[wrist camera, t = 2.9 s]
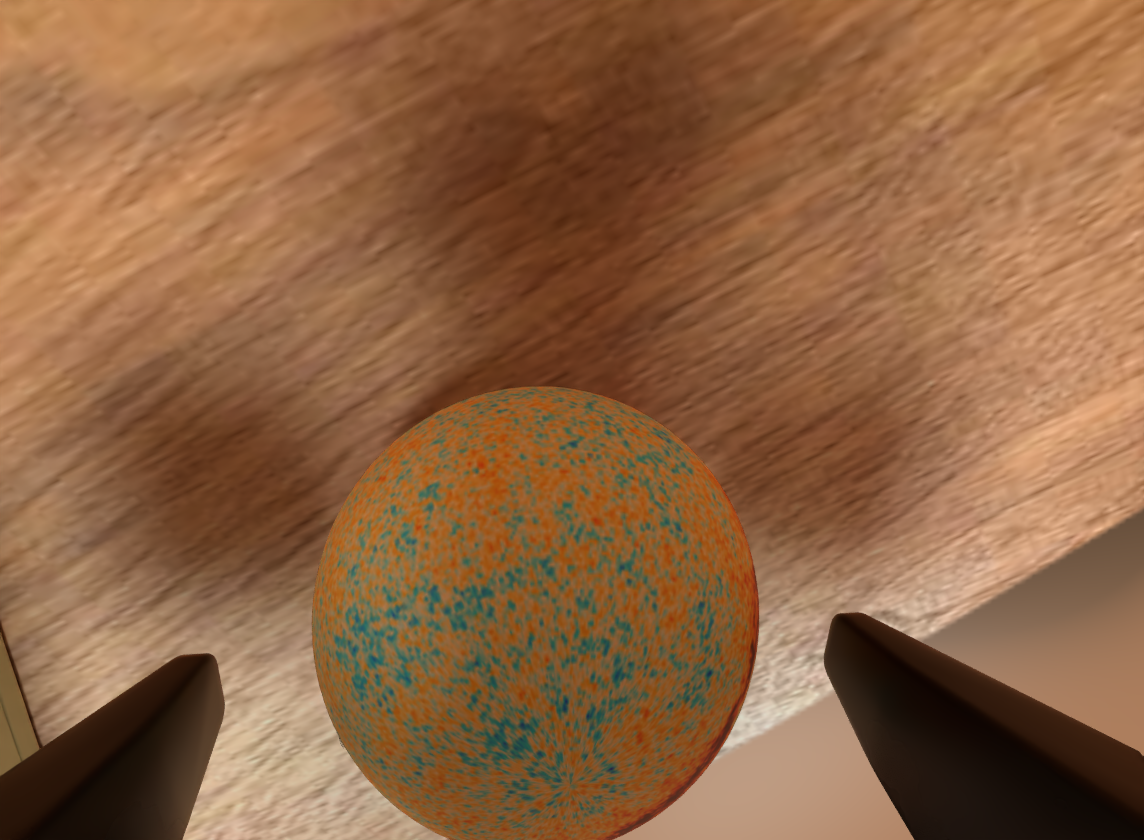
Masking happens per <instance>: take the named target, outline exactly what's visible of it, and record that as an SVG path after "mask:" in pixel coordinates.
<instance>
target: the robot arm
mask: <svg viewBox="0 0 1144 840" xmlns="http://www.w3.org/2000/svg"><path fill="white" fill-rule="evenodd" d="M824 666H825V669H826V672H827V675H828V677H829V679H830V681H831V683H832V685H833V687H834V690H835V692H836V694H837V696H838V698H839V700H840V702H841V704H842V706H843V708H844V710H845V712H846V714H847V717H848V719H849V721H850V723H851V725H852V727H853V729H854V731H855V733H856V736H857V737H858V740H859V742H860V744H861V746H862V748H863V750H864V752H865V754H866V756H867V758H868V760H869V762H870V764H871V766H872V768H873V769H874V772H875V773H876V775H877V777H878V779H879V780H880V782H881V784H882V786H883V787H884V789H885V791H886V792H887V794H888V796H889V798H890V799H891V801H892V803H893V804H894V806H895V808H896V809H897V811H898V813H899V814H900V816H901V817H902V820H903V821H904V823H905V824H906V826H907V828H908V830H909V831H910V833H911V835H912V836H913V838H914V840H1144V756H1142V755H1141V753H1140V752H1139V751H1137V750H1135V749H1133V748H1131V747H1129V746H1127V745H1125V744H1123V743H1121V742H1119V741H1117V740H1115V739H1113V738H1111V737H1109V736H1107V735H1105V734H1103V733H1101V732H1099V731H1097V730H1095V729H1093V728H1091V727H1089V726H1087V725H1085V724H1083V723H1081V722H1079V721H1077V720H1075V719H1073V718H1071V717H1069V716H1067V715H1065V714H1063V713H1061V712H1059V711H1057V710H1055V709H1053V708H1051V707H1049V706H1047V705H1045V704H1043V703H1041V702H1039V701H1037V700H1035V699H1033V698H1031V697H1029V696H1027V695H1025V694H1023V693H1021V692H1019V691H1017V690H1015V689H1013V688H1011V687H1009V686H1007V685H1005V684H1003V683H1001V682H999V681H997V680H995V679H993V678H991V677H989V676H987V675H985V674H983V673H981V672H979V671H977V670H975V669H973V668H972V667H969V666H967V665H966V664H963V663H961V662H959V661H958V660H956V659H954V658H952V657H950V656H947V655H946V654H943V653H941V652H940V651H938V650H936V649H933V648H932V647H929V646H928V645H926V644H924V643H922V642H920V641H918V640H916V639H914V638H912V637H910V636H908V635H906V634H904V633H902V632H900V631H898V630H896V629H894V628H892V627H890V626H888V625H886V624H884V623H882V622H880V621H878V620H876V619H874V618H872V617H870V616H868V615H866V614H863V613H859V612H855V613H840V614H837V615H835V616H834V618H833V619H832V622H831V626H830V630H829V635H828V639H827V644H826V648H825V653H824ZM224 709H225V702H224V695H223V690H222V685H221V680H220V674H219V669H218V664H217V661H216V658H215V657H214V656H213V655H211V654H208V653H205V654H189V655H181V656H178V657H176V658H174V659H172V660H171V661H169V662H168V663H166V664H165V665H163V666H162V667H160V668H159V669H158V670H156V671H155V672H153V673H152V674H150V675H149V676H147V677H146V678H144V679H143V680H141V681H140V682H138V683H137V684H135V685H134V686H132V687H131V688H129V689H128V690H127V691H125V692H124V693H122V694H121V695H119V696H118V697H116V698H115V699H113V700H112V701H110V702H109V703H107V704H106V705H104V706H103V707H101V708H100V709H98V710H97V711H96V712H94V713H93V714H91V715H90V716H88V717H87V718H85V719H84V720H82V721H81V722H79V723H78V724H76V725H75V726H73V727H72V728H70V729H69V730H67V731H66V732H64V733H63V734H62V735H60V736H59V737H57V738H56V739H54V740H53V741H51V742H50V743H48V744H47V745H45V746H44V747H42V748H41V749H39V750H38V751H36V752H35V753H33V754H32V755H31V756H29V757H28V758H26V759H25V760H23V761H22V762H20V763H19V764H17V765H16V766H14V767H13V768H11V769H10V770H8V771H7V772H5V773H4V774H2V775H1V776H0V840H182V839H183V836H184V833H185V831H186V828H187V825H188V822H189V819H190V816H191V813H192V810H193V807H194V804H195V801H196V798H197V795H198V792H199V789H200V786H201V784H202V781H203V778H204V775H205V772H206V769H207V766H208V763H209V760H210V757H211V754H212V751H213V748H214V745H215V742H216V739H217V736H218V733H219V730H220V727H221V724H222V720H223V716H224Z"/></svg>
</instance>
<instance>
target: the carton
mask: <svg viewBox="0 0 1144 840" xmlns="http://www.w3.org/2000/svg"><path fill="white" fill-rule="evenodd" d="M38 750H39V746H38V743H37V740H36V737H35V734H34V731H33V728H32V725H31V722H30V719H29V716H28V713H27V710H26V707H25V704H24V701H23V698H22V695H21V692H20V689H19V686H18V683H17V680H16V677H15V674H14V671H13V668H12V665H11V662H10V659H9V656H8V653H7V650H6V647H5V644H4V641H3V638H2V635H1V632H0V776H1V775H2V774H4V773H5V772H7V771H8V770H10V769H11V768H13V767H14V766H16V765H17V764H19V763H20V762H22V761H23V760H25V759H26V758H28V757H29V756H31V755H32V754H33V753H35V752H36V751H38Z"/></svg>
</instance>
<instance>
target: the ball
mask: <svg viewBox="0 0 1144 840" xmlns="http://www.w3.org/2000/svg"><path fill="white" fill-rule="evenodd" d="M758 635H759V599H758V589H757V581H756V575H755V570H754V565H753V560H752V556H751V552H750V549H749V545H748V542H747V539H746V536H745V533H744V531H743V528H742V526H741V523H740V521H739V519H738V517H737V514H736V512H735V510H734V508H733V506H732V504H731V502H730V500H729V499H728V497H727V495H726V494H725V492H724V490H723V489H722V487H721V486H720V484H719V483H718V481H717V480H716V478H715V477H714V475H713V474H712V473H711V471H710V470H709V469H708V468H707V466H706V465H705V464H704V463H703V462H702V461H701V459H700V458H699V457H698V456H697V455H696V454H695V453H694V452H693V451H692V450H691V449H690V448H689V447H688V446H687V445H686V444H685V443H684V442H683V441H682V440H681V439H679V438H678V437H677V436H676V435H674V434H673V433H672V432H671V431H670V430H668V429H667V428H665V427H664V426H663V425H661V424H660V423H658V422H657V421H655V420H654V419H652V418H651V417H649V416H647V415H645V414H644V413H642V412H640V411H638V410H636V409H634V408H632V407H630V406H628V405H626V404H623V403H621V402H619V401H616V400H613V399H611V398H608V397H605V396H602V395H598V394H594V393H591V392H587V391H582V390H577V389H571V388H563V387H550V386H529V387H517V388H508V389H502V390H497V391H493V392H488V393H484V394H481V395H477V396H474V397H471V398H468V399H465V400H463V401H460V402H458V403H455V404H453V405H450V406H448V407H446V408H444V409H442V410H440V411H438V412H436V413H435V414H433V415H431V416H429V417H428V418H426V419H424V420H423V421H421V422H420V423H418V424H417V425H415V426H414V427H412V428H411V429H409V430H408V431H407V432H405V433H404V434H403V435H402V436H400V437H399V438H398V439H397V440H396V441H395V442H393V443H392V444H391V445H390V446H389V447H388V448H387V449H386V450H385V451H384V452H383V453H382V454H381V455H380V456H379V457H378V458H377V459H376V460H375V461H374V462H373V464H372V465H371V466H370V467H369V468H368V469H367V471H366V472H365V473H364V474H363V476H362V477H361V478H360V480H359V481H358V482H357V484H356V485H355V487H354V488H353V490H352V491H351V493H350V494H349V496H348V497H347V499H346V501H345V503H344V504H343V506H342V508H341V510H340V512H339V514H338V516H337V518H336V520H335V522H334V524H333V527H332V529H331V531H330V534H329V536H328V539H327V542H326V545H325V547H324V551H323V554H322V557H321V561H320V565H319V569H318V573H317V578H316V584H315V590H314V597H313V609H312V642H313V652H314V660H315V667H316V672H317V677H318V681H319V685H320V689H321V692H322V696H323V699H324V702H325V705H326V708H327V711H328V713H329V716H330V718H331V721H332V723H333V725H334V727H335V729H336V731H337V733H338V735H339V737H340V738H339V739H341V742H342V743H343V745H344V746H345V748H346V750H347V751H348V753H349V754H350V756H351V757H352V759H353V760H354V762H355V763H356V765H357V766H358V767H359V769H360V770H361V771H362V773H363V774H364V775H365V776H366V778H367V779H368V780H369V781H370V782H371V783H372V784H373V785H374V787H375V788H376V789H377V790H378V791H379V792H380V793H381V794H382V795H383V796H384V797H385V798H387V799H388V800H389V801H390V802H391V803H392V804H393V805H394V806H396V807H397V808H398V809H399V810H401V811H402V812H403V813H405V814H406V815H408V816H409V817H410V818H412V819H413V820H415V821H416V822H418V823H419V824H421V825H423V826H425V827H426V828H428V829H430V830H432V831H434V832H435V833H437V834H440V835H442V836H444V837H446V838H449V839H451V840H613V839H615V838H617V837H620V836H622V835H624V834H626V833H628V832H630V831H632V830H634V829H636V828H638V827H639V826H641V825H643V824H645V823H646V822H648V821H649V820H651V819H653V818H654V817H656V816H657V815H658V814H660V813H661V812H662V811H664V810H665V809H666V808H668V807H669V806H670V805H671V804H673V803H674V802H675V801H676V800H677V799H678V798H680V797H681V796H682V795H683V794H684V793H685V792H686V791H687V790H688V789H689V788H690V787H691V786H692V785H693V784H694V783H695V782H696V781H697V779H698V778H699V777H700V776H701V775H702V774H703V772H704V771H705V770H706V769H707V767H708V766H709V765H710V764H711V762H712V761H713V759H714V758H715V757H716V755H717V754H718V752H719V751H720V749H721V747H722V746H723V744H724V743H725V741H726V739H727V738H728V736H729V734H730V732H731V730H732V728H733V726H734V724H735V722H736V720H737V718H738V715H739V713H740V711H741V708H742V706H743V703H744V700H745V698H746V695H747V691H748V688H749V685H750V681H751V677H752V674H753V669H754V664H755V659H756V652H757V645H758ZM340 744H341V743H340ZM341 746H342V745H341ZM342 747H343V746H342Z"/></svg>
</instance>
